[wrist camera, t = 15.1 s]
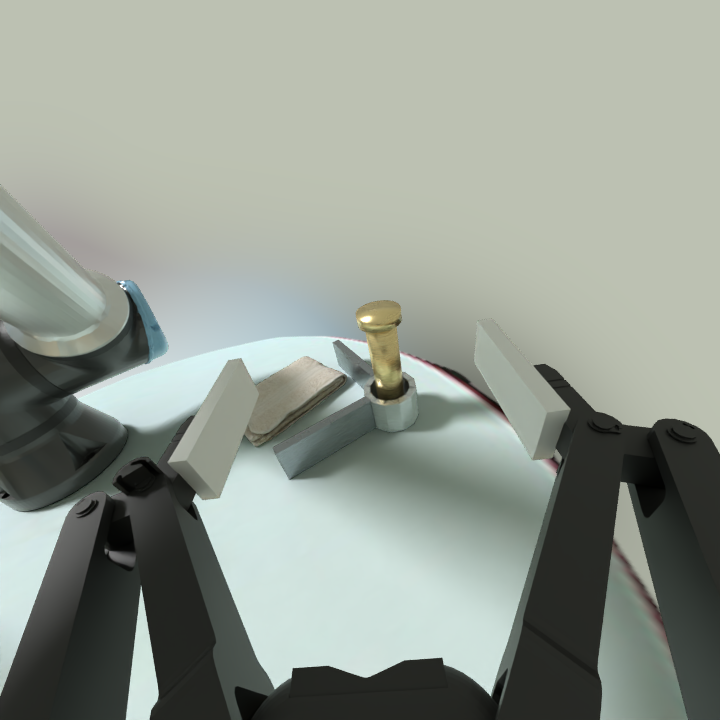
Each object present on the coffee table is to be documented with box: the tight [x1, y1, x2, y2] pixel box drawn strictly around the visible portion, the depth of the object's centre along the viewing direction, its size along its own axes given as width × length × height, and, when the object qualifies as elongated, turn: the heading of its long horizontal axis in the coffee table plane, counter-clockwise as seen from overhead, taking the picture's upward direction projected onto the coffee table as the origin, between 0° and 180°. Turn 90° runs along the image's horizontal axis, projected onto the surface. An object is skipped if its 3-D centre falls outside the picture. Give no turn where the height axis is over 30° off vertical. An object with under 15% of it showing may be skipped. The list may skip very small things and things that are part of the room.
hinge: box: [273, 340, 419, 480], centre depth 42 cm, size 20×20×5 cm
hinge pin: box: [356, 300, 405, 401], centre depth 36 cm, size 5×5×16 cm
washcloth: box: [244, 356, 347, 447], centre depth 47 cm, size 12×18×3 cm, turn 136°
